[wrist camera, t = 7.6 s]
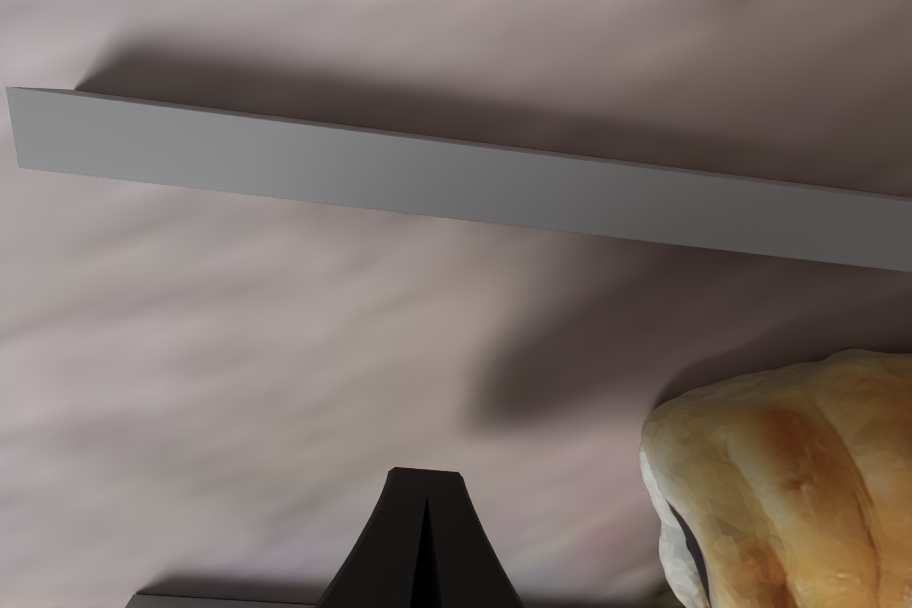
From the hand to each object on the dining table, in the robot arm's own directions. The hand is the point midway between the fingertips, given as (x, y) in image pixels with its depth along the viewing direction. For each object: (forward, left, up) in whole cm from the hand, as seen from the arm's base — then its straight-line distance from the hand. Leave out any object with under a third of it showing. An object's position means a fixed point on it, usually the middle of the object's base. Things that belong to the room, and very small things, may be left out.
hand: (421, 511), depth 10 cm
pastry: (+1, -9, -3) cm, 10 cm away
